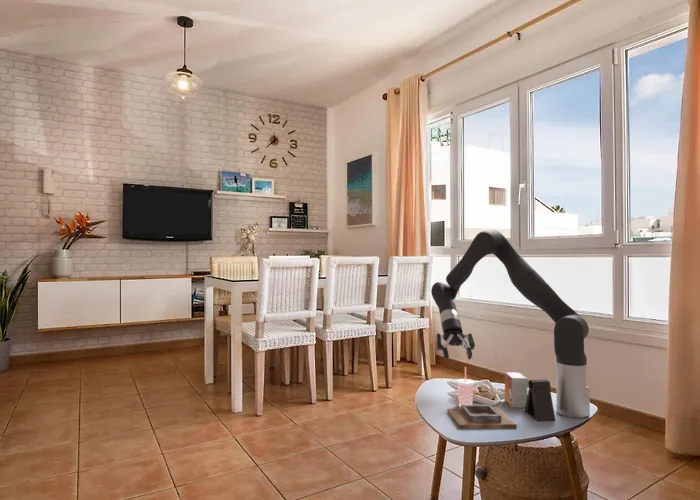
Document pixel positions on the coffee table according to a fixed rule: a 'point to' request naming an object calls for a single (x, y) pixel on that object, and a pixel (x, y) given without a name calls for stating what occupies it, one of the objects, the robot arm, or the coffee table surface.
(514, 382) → the small box
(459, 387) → the beverage cup
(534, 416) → the black tent sign
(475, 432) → the coffee table surface
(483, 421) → the walnut socket plate
